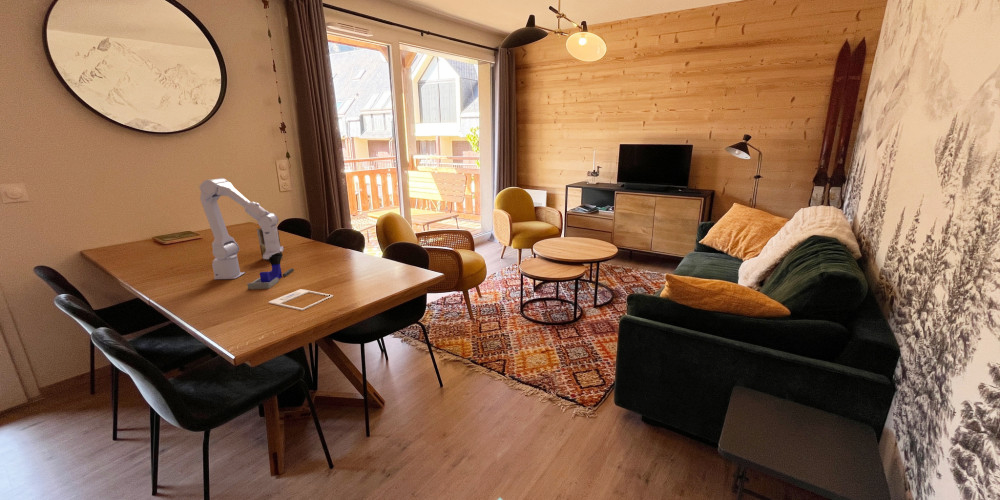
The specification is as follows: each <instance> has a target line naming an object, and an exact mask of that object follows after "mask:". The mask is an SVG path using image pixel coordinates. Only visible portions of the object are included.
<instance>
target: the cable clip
mask: <svg viewBox="0 0 1000 500" xmlns="http://www.w3.org/2000/svg"><path fill="white" fill-rule="evenodd" d="M282 277H283V273H282V267H281V263H280V264H273V265H271V270H270V271H260V272H259V278H261V282H270V281H272V280H273V279H275V278H279V280H280V279H281V278H282Z"/></svg>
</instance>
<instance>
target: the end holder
mask: <svg viewBox="0 0 1000 500" xmlns="http://www.w3.org/2000/svg"><path fill="white" fill-rule="evenodd" d="M279 282H280V279H279V278H275V279H273V280H272V281H270V282H261V278H260V277H258V278H256V279H255V280H253V281H252V282H247V284H246V285H247V289H248V290H265V289H266V290H269V289H270V288H272V287H274V286H275V285H276V284H278V283H279Z"/></svg>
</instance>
